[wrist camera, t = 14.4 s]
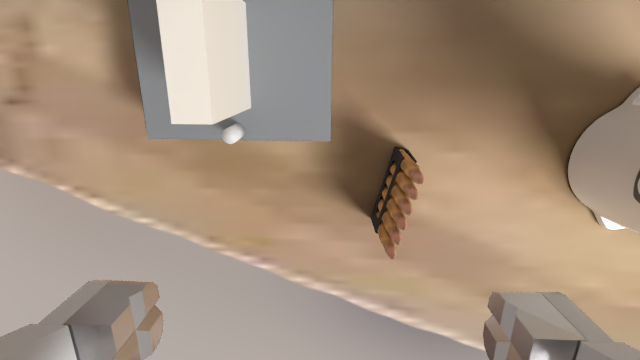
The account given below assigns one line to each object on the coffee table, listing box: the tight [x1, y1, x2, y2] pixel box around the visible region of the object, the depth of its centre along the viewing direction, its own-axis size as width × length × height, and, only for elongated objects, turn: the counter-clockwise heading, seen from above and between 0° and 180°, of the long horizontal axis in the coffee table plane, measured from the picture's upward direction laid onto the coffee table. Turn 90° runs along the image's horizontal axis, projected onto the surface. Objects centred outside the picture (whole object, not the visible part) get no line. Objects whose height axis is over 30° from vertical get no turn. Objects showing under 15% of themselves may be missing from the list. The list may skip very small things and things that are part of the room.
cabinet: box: [127, 0, 333, 144], centre depth 37 cm, size 21×17×11 cm
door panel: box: [156, 0, 251, 125], centre depth 29 cm, size 3×10×12 cm, turn 0°
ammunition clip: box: [371, 147, 424, 259], centre depth 41 cm, size 11×2×12 cm, turn 165°
